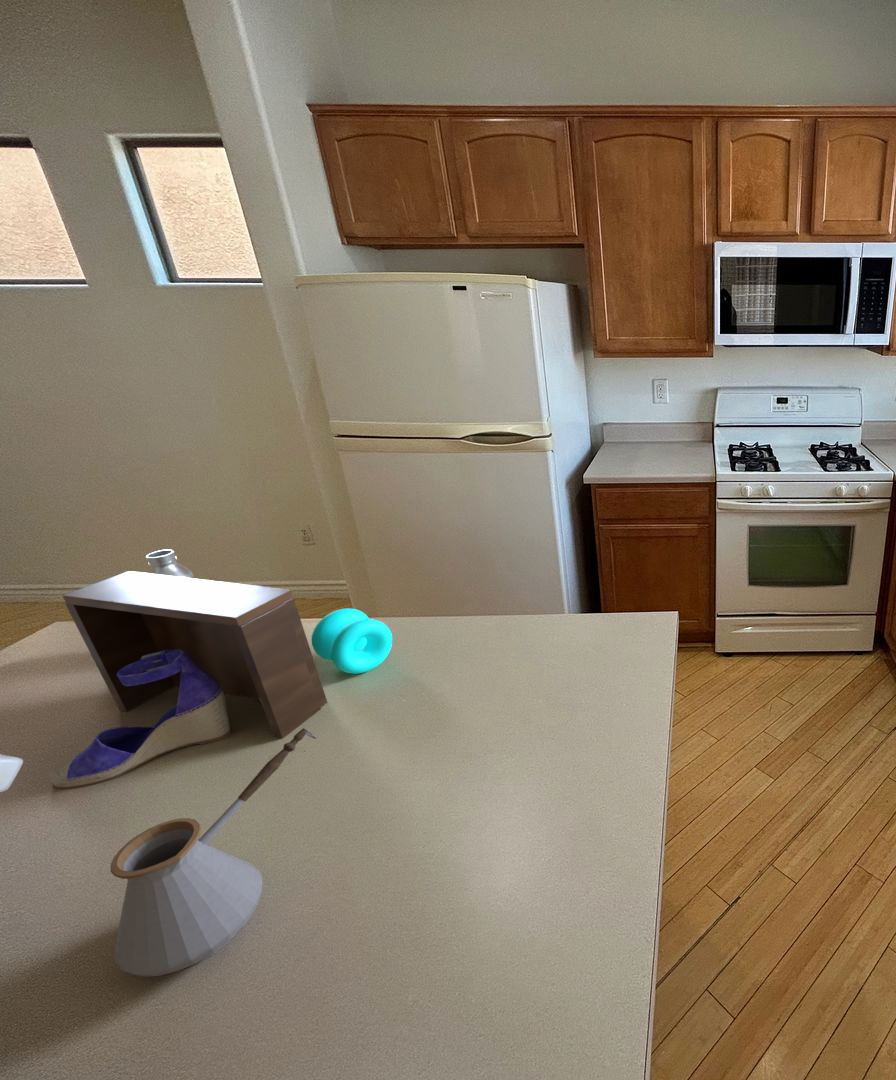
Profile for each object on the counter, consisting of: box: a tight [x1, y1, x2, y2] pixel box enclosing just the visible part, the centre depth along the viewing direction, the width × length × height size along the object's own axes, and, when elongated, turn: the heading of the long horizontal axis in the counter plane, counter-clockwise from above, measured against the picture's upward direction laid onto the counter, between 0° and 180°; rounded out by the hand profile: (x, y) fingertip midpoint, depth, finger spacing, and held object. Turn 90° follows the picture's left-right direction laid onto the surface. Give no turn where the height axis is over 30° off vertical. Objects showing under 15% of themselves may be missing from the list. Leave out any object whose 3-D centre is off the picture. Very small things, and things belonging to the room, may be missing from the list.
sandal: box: [48, 649, 232, 789], centre depth 78 cm, size 8×20×15 cm, turn 113°
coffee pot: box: [110, 727, 319, 977], centre depth 60 cm, size 21×12×15 cm, turn 159°
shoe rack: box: [62, 570, 328, 739], centre depth 87 cm, size 32×9×21 cm, turn 79°
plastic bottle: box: [145, 549, 196, 579], centre depth 103 cm, size 6×7×20 cm
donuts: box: [311, 607, 393, 675], centre depth 101 cm, size 10×10×10 cm
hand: (7, 763), depth 66 cm, fingers closed
